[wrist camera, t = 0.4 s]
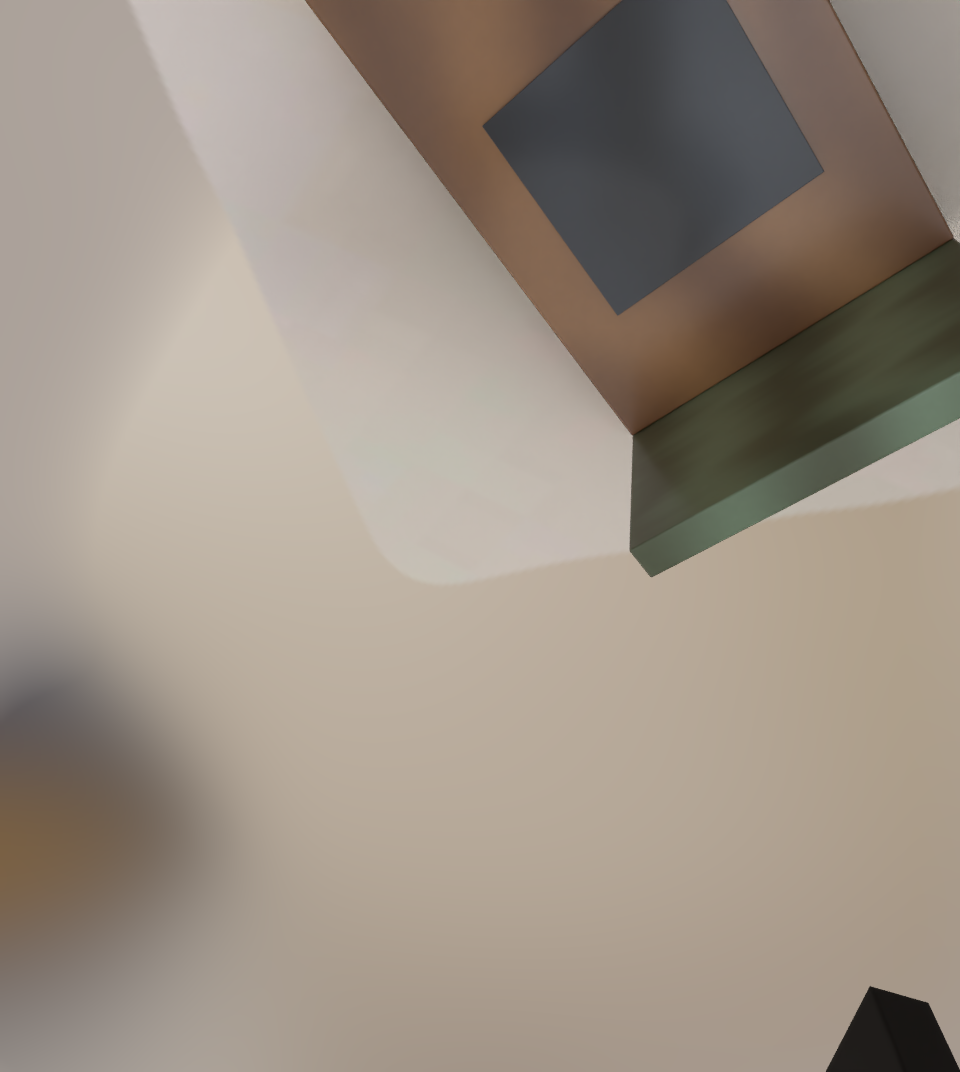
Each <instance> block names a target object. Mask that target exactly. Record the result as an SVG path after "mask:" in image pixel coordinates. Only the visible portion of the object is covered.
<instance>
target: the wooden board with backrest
mask: <svg viewBox="0 0 960 1072" xmlns="http://www.w3.org/2000/svg"><path fill="white" fill-rule="evenodd" d="M306 2H307V4H308V5H309V6H310V8H311V9H312V10H313V12H314V13H315V14H316V16H317V17H318V18H319V20H320V21H321V22H322V24H323V25H324V26H325V28H326V29H327V30H328V32H329V33H330V34H331V36H332V37H333V38H334V40H335V41H336V42H337V44H338V45H339V46H340V48H341V49H342V50H343V52H344V53H345V54H346V56H347V57H348V58H349V60H350V61H351V62H352V64H353V65H354V66H355V68H356V69H357V70H358V72H359V73H360V74H361V76H362V77H363V78H364V80H365V81H366V82H367V84H368V85H369V86H370V88H371V89H372V90H373V92H374V93H375V94H376V96H377V97H378V98H379V100H380V101H381V102H382V104H383V105H384V106H385V108H386V109H387V110H388V112H389V113H390V114H391V116H392V117H393V118H394V119H395V121H396V122H397V123H398V125H399V126H400V127H401V129H402V130H403V131H404V133H405V134H406V135H407V137H408V138H409V139H410V141H411V142H412V143H413V145H414V146H415V147H416V149H417V150H418V151H419V153H420V154H421V155H422V157H423V158H424V159H425V161H426V162H427V163H428V165H429V166H430V167H431V169H432V170H433V171H434V173H435V174H436V175H437V177H438V178H439V179H440V181H441V182H442V183H443V185H444V186H445V187H446V189H447V190H448V191H449V193H450V194H451V195H452V197H453V198H454V199H455V201H456V202H457V203H458V205H459V206H460V207H461V209H462V210H463V211H464V213H465V214H466V215H467V217H468V218H469V219H470V221H471V222H472V223H473V225H474V226H475V227H476V229H477V230H478V231H479V233H480V234H481V235H482V237H483V238H484V239H485V241H486V242H487V243H488V245H489V246H490V247H491V249H492V250H493V251H494V253H495V254H496V255H497V257H498V258H499V259H500V261H501V262H502V263H503V265H504V266H505V267H506V269H507V270H508V271H509V273H510V274H511V275H512V277H513V278H514V279H515V280H516V282H517V283H518V284H519V286H520V287H521V288H522V290H523V291H524V292H525V294H526V295H527V296H528V298H529V299H530V300H531V302H532V303H533V304H534V306H535V307H536V308H537V310H538V311H539V312H540V314H541V315H542V316H543V318H544V319H545V320H546V322H547V323H548V324H549V326H550V327H551V328H552V330H553V331H554V332H555V334H556V335H557V336H558V338H559V339H560V340H561V342H562V343H563V344H564V346H565V347H566V348H567V350H568V351H569V352H570V354H571V355H572V356H573V358H574V359H575V360H576V362H577V363H578V364H579V366H580V367H581V368H582V370H583V371H584V372H585V374H586V375H587V376H588V378H589V379H590V380H591V382H592V383H593V384H594V386H595V387H596V388H597V390H598V391H599V392H600V394H601V395H602V396H603V398H604V399H605V400H606V402H607V403H608V404H609V406H610V407H611V408H612V410H613V411H614V412H615V414H616V415H617V416H618V418H619V419H620V420H621V422H622V423H623V424H624V426H625V427H626V428H627V430H628V431H629V432H630V434H631V435H633V452H632V485H631V519H630V552H631V553H632V555H633V556H634V557H635V558H636V559H637V561H638V562H639V563H640V564H641V566H642V567H643V568H644V569H645V571H646V572H647V573H648V574H649V576H650V577H653V576H655V575H657V574H659V573H661V572H663V571H665V570H667V569H669V568H671V567H673V566H675V565H677V564H679V563H680V562H682V561H684V560H686V559H688V558H690V557H692V556H694V555H696V554H698V553H700V552H702V551H704V550H706V549H708V548H709V547H711V546H713V545H715V544H717V543H719V542H721V541H723V540H725V539H727V538H729V537H731V536H733V535H735V534H737V533H738V532H740V531H742V530H744V529H746V528H748V527H750V526H752V525H754V524H756V523H758V522H760V521H762V520H764V519H766V518H768V517H769V516H771V515H773V514H775V513H777V512H779V511H781V510H783V509H785V508H787V507H789V506H791V505H793V504H795V503H797V502H798V501H800V500H802V499H804V498H806V497H808V496H810V495H812V494H814V493H816V492H818V491H820V490H822V489H824V488H826V487H827V486H829V485H831V484H833V483H835V482H837V481H839V480H841V479H843V478H845V477H847V476H849V475H851V474H853V473H855V472H857V471H858V470H860V469H862V468H864V467H866V466H868V465H870V464H872V463H874V462H876V461H878V460H880V459H882V458H884V457H886V456H887V455H889V454H891V453H893V452H895V451H897V450H899V449H901V448H903V447H905V446H907V445H909V444H911V443H913V442H915V441H916V440H918V439H920V438H922V437H924V436H926V435H928V434H930V433H932V432H934V431H936V430H938V429H940V428H942V427H944V426H945V425H947V424H949V423H951V422H953V421H955V420H957V419H959V418H960V243H959V242H958V241H957V240H955V239H954V238H953V234H952V232H951V230H950V229H949V227H948V225H947V223H946V221H945V219H944V217H943V215H942V213H941V212H940V210H939V208H938V206H937V204H936V202H935V200H934V198H933V196H932V194H931V193H930V191H929V189H928V187H927V185H926V183H925V181H924V179H923V177H922V176H921V174H920V172H919V170H918V168H917V166H916V164H915V162H914V160H913V158H912V157H911V155H910V153H909V151H908V149H907V147H906V145H905V143H904V141H903V139H902V138H901V136H900V134H899V132H898V130H897V128H896V126H895V124H894V122H893V121H892V119H891V117H890V115H889V113H888V111H887V109H886V107H885V105H884V103H883V102H882V100H881V98H880V96H879V94H878V92H877V90H876V88H875V86H874V85H873V83H872V81H871V79H870V77H869V75H868V73H867V71H866V69H865V67H864V66H863V64H862V62H861V60H860V58H859V56H858V54H857V52H856V50H855V49H854V47H853V45H852V43H851V41H850V39H849V37H848V35H847V33H846V31H845V30H844V28H843V26H842V24H841V22H840V20H839V18H838V16H837V14H836V12H835V11H834V9H833V7H832V5H831V3H830V1H829V0H306Z"/></svg>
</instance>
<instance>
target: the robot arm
mask: <svg viewBox="0 0 960 1072" xmlns="http://www.w3.org/2000/svg"><path fill="white" fill-rule="evenodd" d="M826 1072H960V1069H959V1067H958V1065H957V1063H956V1061H955V1059H954V1057H953V1055H952V1052H951V1050H950V1048H949V1046H948V1044H947V1042H946V1040H945V1038H944V1035H943V1033H942V1031H941V1029H940V1027H939V1025H938V1023H937V1021H936V1018H935V1016H934V1014H933V1012H932V1010H931V1008H930V1006H929V1004H928V1003H927V1002H923V1001H920V1000H916V999H912V998H909V997H906V996H902V995H899V994H895V993H892V992H888V991H885V990H881V989H878V988H874V987H871V986H870V987H869V989H868V991H867V993H866V995H865V997H864V999H863V1001H862V1003H861V1005H860V1007H859V1008H858V1010H857V1012H856V1015H855V1016H854V1018H853V1020H852V1022H851V1024H850V1026H849V1028H848V1030H847V1032H846V1034H845V1036H844V1038H843V1039H842V1041H841V1043H840V1045H839V1047H838V1049H837V1051H836V1053H835V1055H834V1057H833V1059H832V1061H831V1062H830V1065H829V1066H828V1068H827V1070H826Z"/></svg>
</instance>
